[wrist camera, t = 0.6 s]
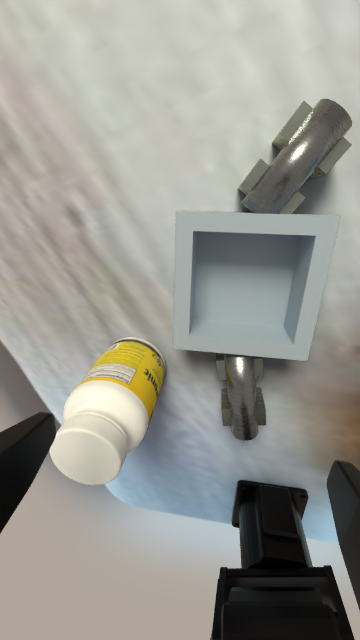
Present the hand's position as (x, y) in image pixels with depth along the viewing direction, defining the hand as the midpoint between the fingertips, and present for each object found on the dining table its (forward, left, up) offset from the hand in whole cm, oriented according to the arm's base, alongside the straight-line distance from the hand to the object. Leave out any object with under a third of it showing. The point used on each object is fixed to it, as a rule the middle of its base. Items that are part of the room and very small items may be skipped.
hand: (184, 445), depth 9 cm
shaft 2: (+9, -4, -13) cm, 16 cm away
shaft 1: (-5, -3, -13) cm, 14 cm away
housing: (+3, -2, -13) cm, 13 cm away
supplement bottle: (-5, +6, -13) cm, 15 cm away
